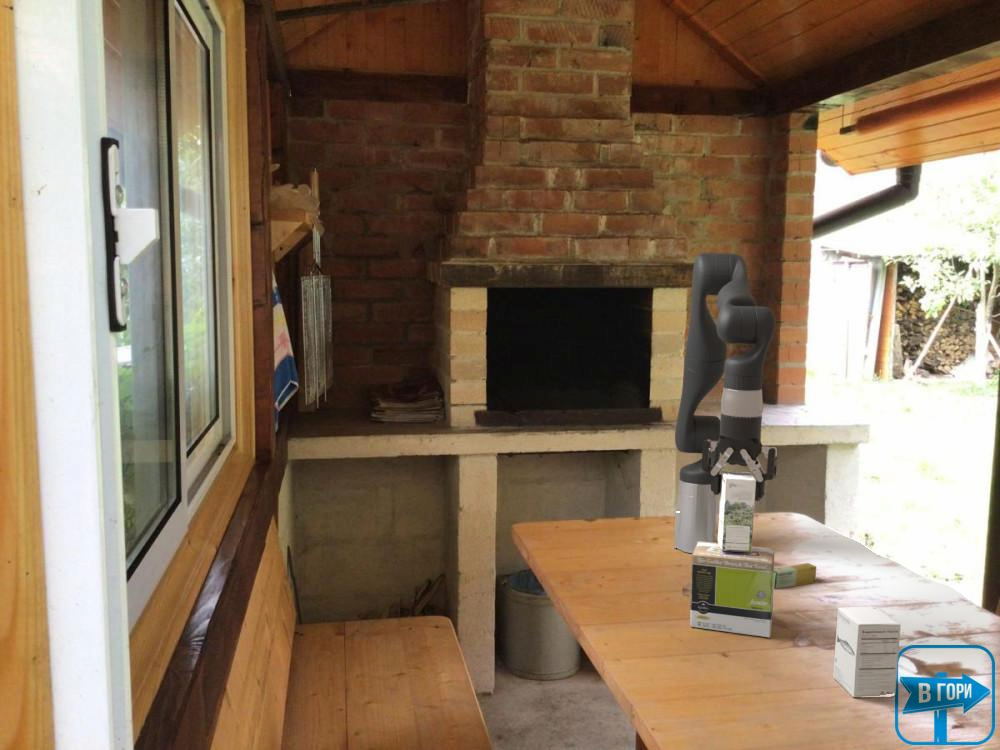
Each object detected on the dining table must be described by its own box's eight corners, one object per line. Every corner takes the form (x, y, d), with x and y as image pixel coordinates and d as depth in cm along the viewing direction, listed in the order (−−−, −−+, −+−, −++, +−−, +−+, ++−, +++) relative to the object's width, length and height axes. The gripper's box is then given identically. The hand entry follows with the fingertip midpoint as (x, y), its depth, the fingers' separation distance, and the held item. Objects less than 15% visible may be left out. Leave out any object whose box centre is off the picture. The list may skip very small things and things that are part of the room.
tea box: (772, 620, 173) (776, 547, 171) (770, 640, 164) (774, 563, 162) (694, 609, 178) (697, 538, 176) (688, 628, 169) (691, 553, 167)
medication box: (774, 590, 190) (775, 572, 189) (765, 586, 192) (766, 568, 192) (815, 583, 195) (817, 565, 194) (806, 579, 197) (808, 561, 197)
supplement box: (831, 678, 148) (836, 606, 147) (873, 677, 149) (878, 605, 148) (852, 699, 141) (857, 623, 140) (896, 698, 142) (902, 623, 140)
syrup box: (746, 543, 172) (750, 470, 170) (752, 553, 166) (756, 478, 164) (717, 542, 172) (720, 469, 171) (721, 551, 166) (725, 477, 165)
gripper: (698, 411, 166) (694, 496, 168) (775, 418, 159) (770, 507, 161) (709, 406, 173) (705, 487, 175) (784, 413, 166) (779, 498, 168)
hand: (737, 496), depth 168 cm, fingers closed on syrup box, 7 cm apart
